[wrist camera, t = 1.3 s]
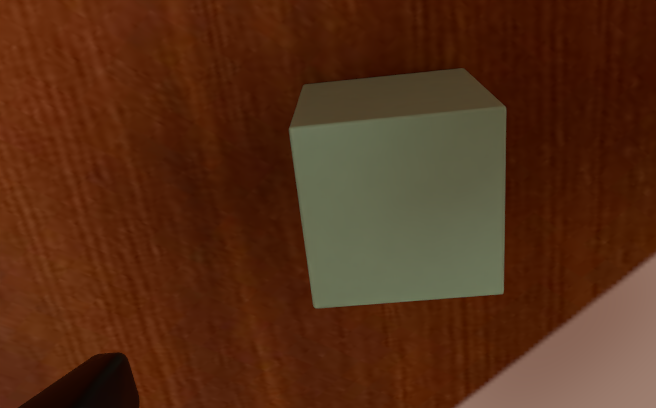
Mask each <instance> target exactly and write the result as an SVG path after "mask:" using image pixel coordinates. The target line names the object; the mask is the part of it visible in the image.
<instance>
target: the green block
mask: <svg viewBox="0 0 656 408" xmlns="http://www.w3.org/2000/svg"><path fill="white" fill-rule="evenodd" d="M289 135H290V143H291V150H292V157H293V164H294V171H295V179H296V186H297V193H298V200H299V207H300V214H301V222H302V229H303V236H304V243H305V250H306V258H307V265H308V272H309V279H310V286H311V293H312V301H313V306H314V308H328V307H341V306H354V305H367V304H380V303H393V302H406V301H419V300H432V299H445V298H458V297H471V296H484V295H497V294H503V292H504V243H505V171H506V107H505V106H504V105H503V104H502V103H501V102H500V101H499V100H498V99H497V98H496V97H495V96H494V95H492V94H491V93H490V92H489V91H488V90H487V89H486V88H485V87H484V86H483V85H482V84H480V83H479V82H478V81H477V80H476V79H475V78H474V77H473V76H472V75H471V74H470V73H468V72H467V71H466V70H465V69H464V68H459V69H449V70H439V71H430V72H420V73H410V74H401V75H391V76H381V77H372V78H362V79H352V80H343V81H333V82H323V83H314V84H305V85H303V87H302V90H301V94H300V97H299V100H298V103H297V106H296V109H295V112H294V115H293V118H292V121H291V124H290V127H289Z"/></svg>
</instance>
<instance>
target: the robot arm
mask: <svg viewBox="0 0 656 408" xmlns="http://www.w3.org/2000/svg"><path fill="white" fill-rule="evenodd" d="M18 408H139V395H138V391H137V388H136V384H135V381H134V378H133V374H132V371H131V368H130V364H129V361H128V359H127V357H126V356H125V355H124V354H123V353H120V352H118V353H104V354H97V355H94V356H93V357H91V358H90V359H88V360H87V361H85V362H84V363H82V364H81V365H79V366H78V367H77V368H75V369H74V370H72V371H71V372H69V373H68V374H66V375H65V376H63V377H62V378H61V379H59V380H58V381H56V382H55V383H53V384H52V385H50V386H49V387H47V388H46V389H44V390H43V391H42V392H40V393H39V394H37V395H36V396H34V397H33V398H31V399H30V400H28V401H27V402H26V403H24V404H23V405H21V406H20V407H18Z"/></svg>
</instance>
